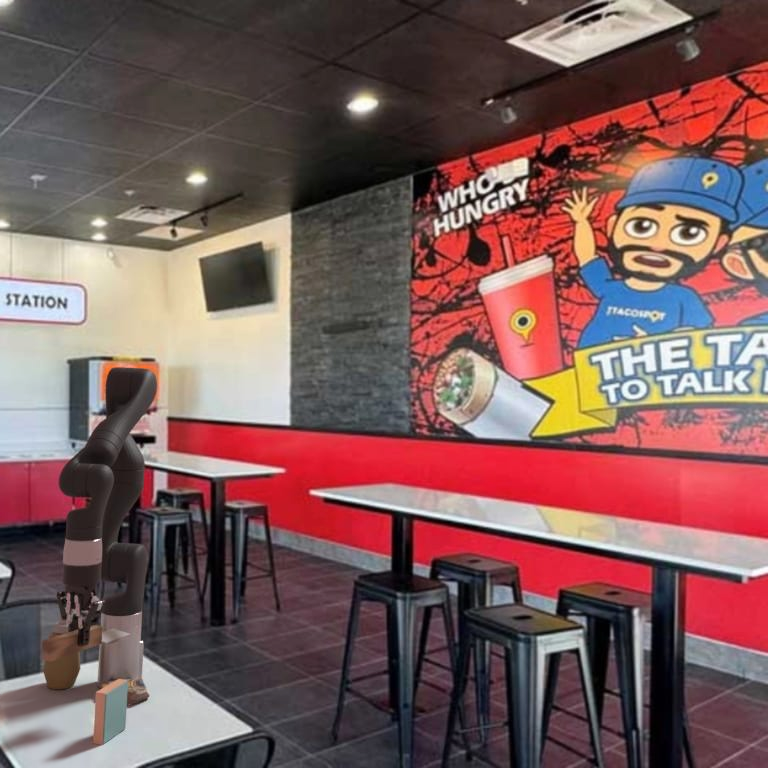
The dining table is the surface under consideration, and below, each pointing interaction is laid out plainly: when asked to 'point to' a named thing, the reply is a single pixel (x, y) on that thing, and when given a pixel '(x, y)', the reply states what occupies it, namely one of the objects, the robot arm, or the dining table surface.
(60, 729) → the dining table surface
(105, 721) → the tile
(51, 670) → the squeeze bottle
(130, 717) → the dining table surface
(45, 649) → the wooden bar with blade
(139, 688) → the ceramic tile fragment
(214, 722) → the dining table surface
